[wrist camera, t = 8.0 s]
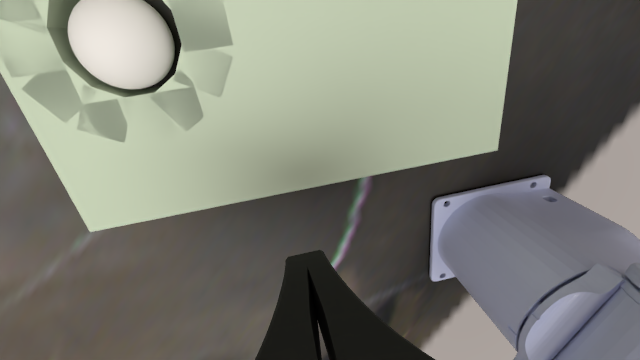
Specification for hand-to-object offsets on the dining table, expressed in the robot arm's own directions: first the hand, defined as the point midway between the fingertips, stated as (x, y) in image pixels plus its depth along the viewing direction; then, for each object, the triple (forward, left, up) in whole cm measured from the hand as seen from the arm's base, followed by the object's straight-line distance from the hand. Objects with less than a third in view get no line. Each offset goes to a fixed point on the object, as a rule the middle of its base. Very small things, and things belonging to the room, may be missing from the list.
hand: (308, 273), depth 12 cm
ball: (+6, -9, -7) cm, 13 cm away
